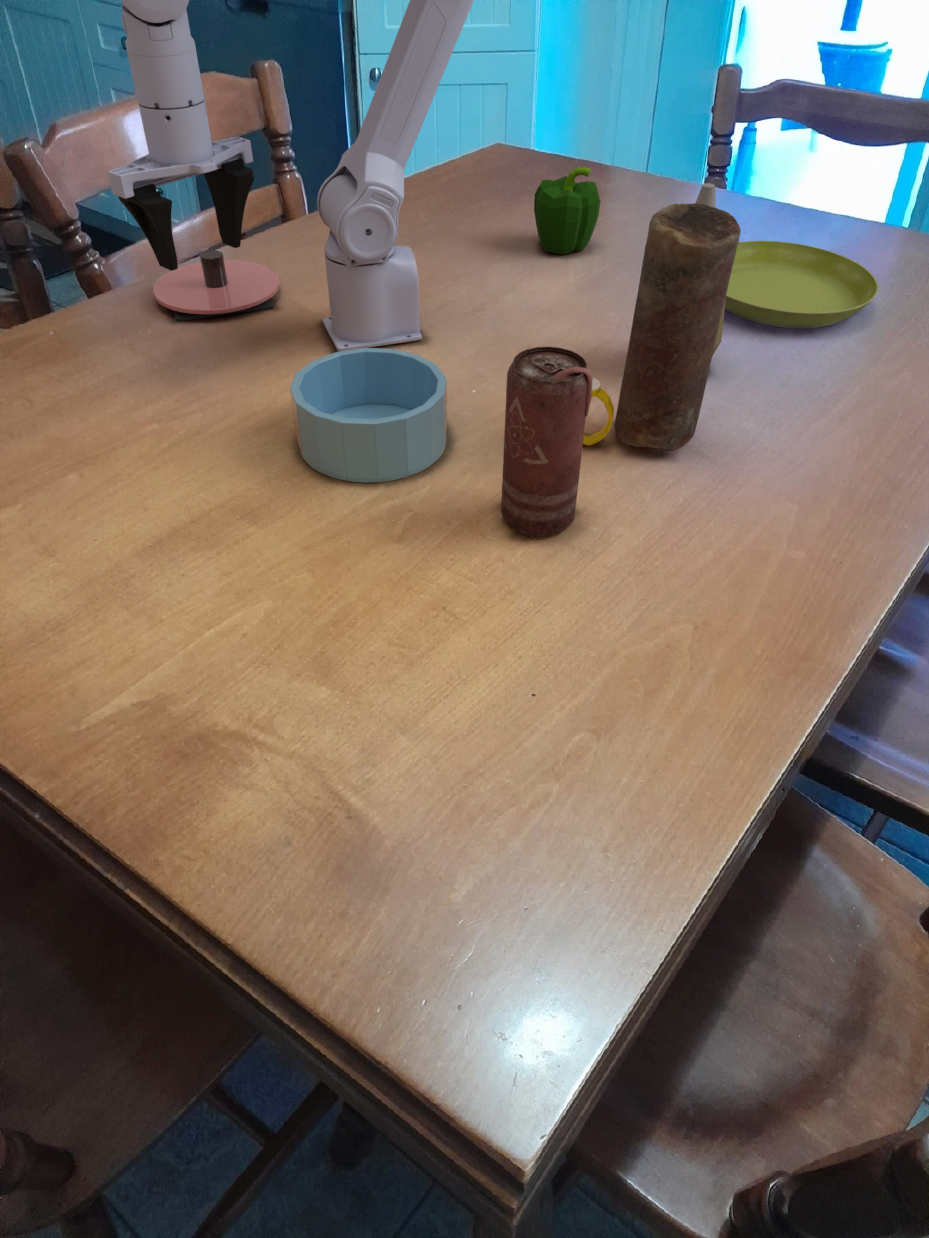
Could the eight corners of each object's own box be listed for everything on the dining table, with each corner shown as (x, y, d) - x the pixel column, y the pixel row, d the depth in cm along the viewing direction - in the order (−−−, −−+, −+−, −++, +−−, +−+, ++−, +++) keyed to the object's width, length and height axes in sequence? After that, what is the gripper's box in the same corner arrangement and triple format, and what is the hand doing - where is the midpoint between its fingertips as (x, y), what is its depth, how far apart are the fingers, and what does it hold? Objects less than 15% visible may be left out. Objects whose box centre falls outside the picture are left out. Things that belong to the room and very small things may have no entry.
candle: (700, 427, 86) (747, 208, 72) (689, 467, 81) (736, 239, 67) (621, 413, 88) (653, 196, 74) (605, 451, 82) (635, 227, 69)
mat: (257, 272, 112) (256, 269, 112) (273, 308, 104) (272, 305, 104) (166, 284, 109) (165, 280, 109) (176, 321, 102) (175, 318, 101)
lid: (286, 268, 112) (281, 231, 109) (273, 319, 101) (267, 279, 98) (168, 269, 112) (160, 231, 109) (142, 320, 101) (132, 280, 98)
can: (573, 545, 72) (591, 386, 63) (495, 534, 73) (501, 377, 64) (581, 501, 77) (599, 347, 67) (507, 492, 78) (515, 339, 68)
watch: (542, 445, 83) (547, 386, 79) (546, 429, 85) (551, 371, 81) (607, 452, 82) (615, 393, 78) (610, 436, 84) (618, 378, 80)
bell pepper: (519, 251, 118) (523, 169, 111) (548, 232, 123) (554, 153, 116) (577, 265, 114) (585, 181, 108) (604, 245, 120) (614, 164, 113)
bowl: (421, 395, 90) (419, 339, 86) (466, 466, 80) (466, 407, 76) (286, 417, 87) (278, 360, 83) (316, 494, 77) (309, 434, 73)
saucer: (674, 319, 103) (679, 292, 101) (708, 256, 117) (713, 230, 115) (863, 352, 97) (873, 324, 95) (876, 281, 111) (884, 255, 109)
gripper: (127, 126, 74) (163, 289, 83) (264, 94, 82) (283, 245, 91) (79, 111, 77) (119, 269, 86) (215, 81, 85) (239, 228, 94)
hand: (200, 256), depth 89 cm, fingers open, 7 cm apart
